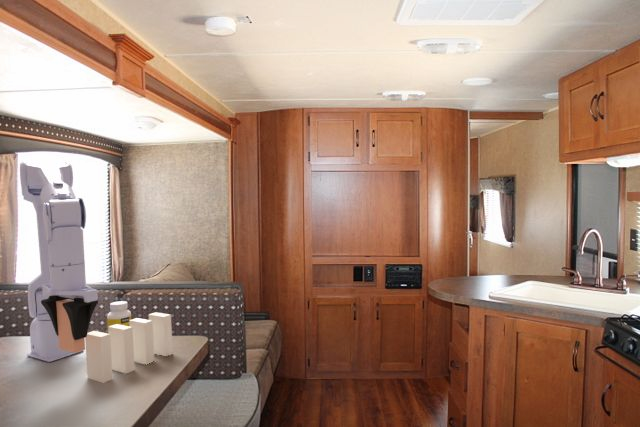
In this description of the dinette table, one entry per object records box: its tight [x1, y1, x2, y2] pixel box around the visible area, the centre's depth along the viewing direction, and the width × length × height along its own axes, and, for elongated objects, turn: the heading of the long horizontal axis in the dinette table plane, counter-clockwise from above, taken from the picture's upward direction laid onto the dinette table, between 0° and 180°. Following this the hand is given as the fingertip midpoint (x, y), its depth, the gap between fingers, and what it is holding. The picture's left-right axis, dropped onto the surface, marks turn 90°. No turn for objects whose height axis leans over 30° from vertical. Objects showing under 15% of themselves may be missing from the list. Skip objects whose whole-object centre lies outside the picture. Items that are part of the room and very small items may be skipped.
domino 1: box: [85, 330, 114, 384], centre depth 88 cm, size 2×5×9 cm, turn 60°
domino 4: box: [148, 311, 174, 357], centre depth 101 cm, size 2×5×9 cm, turn 60°
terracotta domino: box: [56, 299, 86, 354], centre depth 83 cm, size 2×5×9 cm, turn 59°
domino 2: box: [107, 324, 135, 374], centre depth 92 cm, size 2×5×9 cm, turn 59°
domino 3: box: [129, 317, 155, 366], centre depth 97 cm, size 2×5×9 cm, turn 60°
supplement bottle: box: [106, 300, 132, 334], centre depth 110 cm, size 5×5×10 cm
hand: (71, 336), depth 83 cm, fingers closed on terracotta domino, 5 cm apart
